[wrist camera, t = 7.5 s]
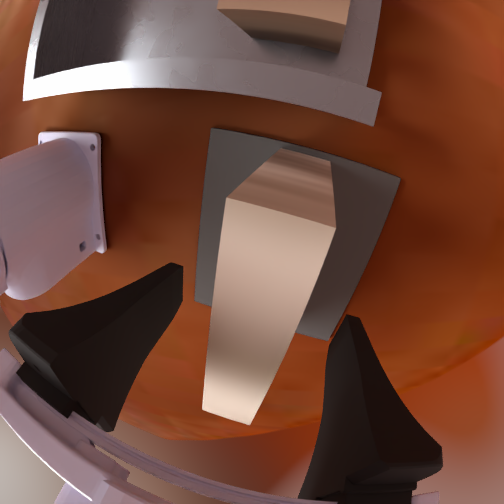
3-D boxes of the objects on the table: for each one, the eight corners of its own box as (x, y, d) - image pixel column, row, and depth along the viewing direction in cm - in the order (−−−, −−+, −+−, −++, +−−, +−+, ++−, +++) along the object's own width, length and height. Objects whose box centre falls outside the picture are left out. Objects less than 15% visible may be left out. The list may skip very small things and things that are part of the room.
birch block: (279, 321, 18) (249, 425, 12) (244, 310, 19) (202, 409, 12) (330, 161, 12) (336, 228, 6) (280, 148, 13) (226, 197, 6)
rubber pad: (327, 338, 18) (327, 340, 18) (196, 298, 20) (194, 300, 19) (399, 177, 12) (400, 178, 12) (213, 127, 13) (211, 128, 13)
